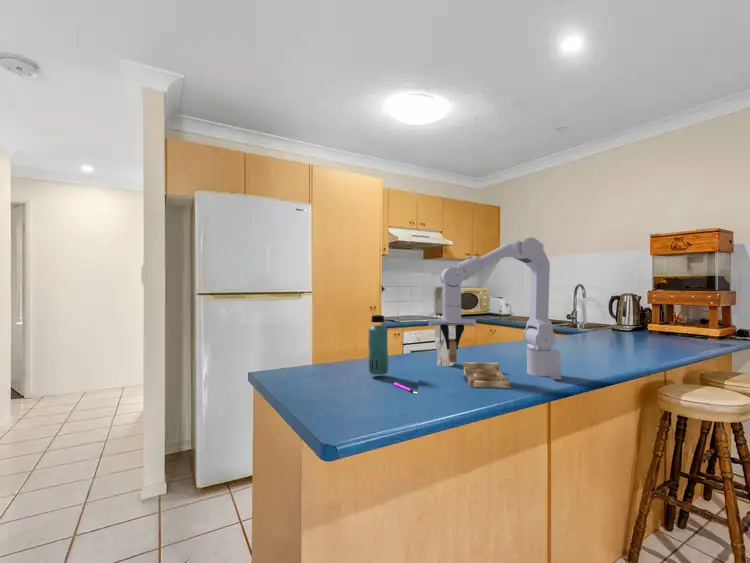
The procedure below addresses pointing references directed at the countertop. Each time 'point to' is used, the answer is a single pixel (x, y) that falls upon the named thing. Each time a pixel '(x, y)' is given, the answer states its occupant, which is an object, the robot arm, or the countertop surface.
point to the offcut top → (486, 372)
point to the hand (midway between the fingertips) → (452, 348)
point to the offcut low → (488, 378)
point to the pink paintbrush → (404, 387)
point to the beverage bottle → (378, 347)
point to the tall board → (452, 350)
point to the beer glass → (443, 346)
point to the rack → (471, 373)
